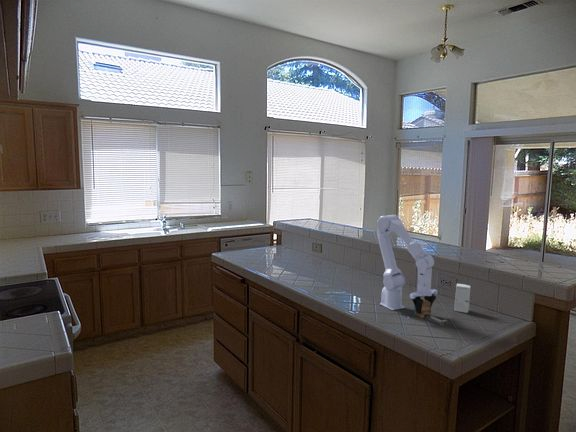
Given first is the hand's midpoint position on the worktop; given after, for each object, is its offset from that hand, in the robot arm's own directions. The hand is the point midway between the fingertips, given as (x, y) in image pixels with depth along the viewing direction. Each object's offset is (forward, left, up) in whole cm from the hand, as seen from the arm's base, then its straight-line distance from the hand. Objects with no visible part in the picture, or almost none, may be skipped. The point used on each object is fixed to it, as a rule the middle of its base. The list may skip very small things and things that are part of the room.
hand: (423, 311), depth 173 cm
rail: (+4, 0, -2) cm, 5 cm away
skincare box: (+3, +21, -2) cm, 21 cm away
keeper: (0, 0, -2) cm, 2 cm away
